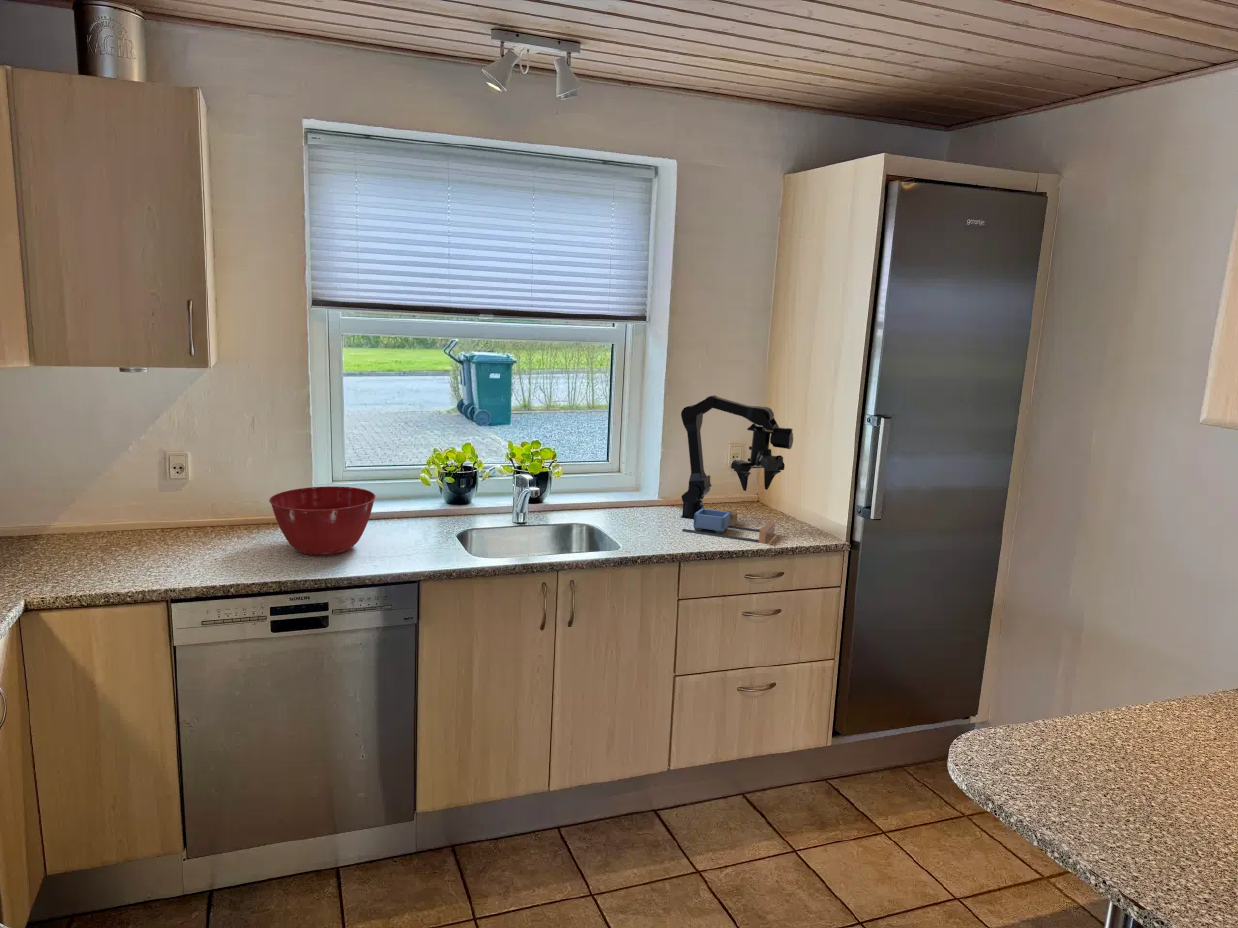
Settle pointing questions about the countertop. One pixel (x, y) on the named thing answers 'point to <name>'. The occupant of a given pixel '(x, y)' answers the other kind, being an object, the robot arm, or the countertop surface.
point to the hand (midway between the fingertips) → (755, 490)
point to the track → (764, 532)
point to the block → (733, 518)
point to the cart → (711, 520)
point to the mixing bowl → (323, 517)
